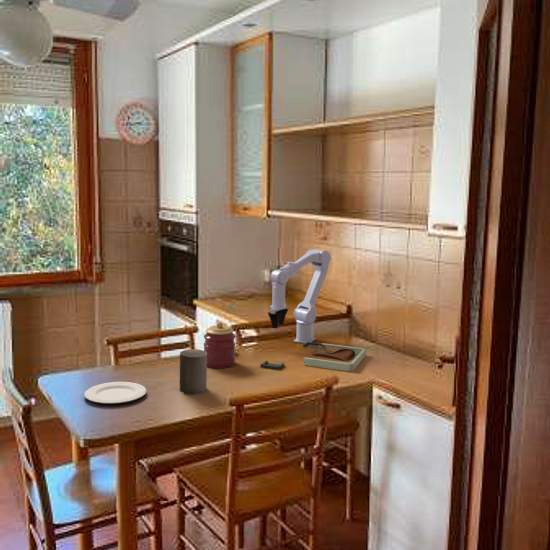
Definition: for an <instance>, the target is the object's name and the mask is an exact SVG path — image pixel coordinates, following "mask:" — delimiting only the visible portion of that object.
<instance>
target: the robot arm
mask: <svg viewBox="0 0 550 550" xmlns="http://www.w3.org/2000/svg"><path fill="white" fill-rule="evenodd" d="M331 260H332V257H331V253H330V251H328V250H327V249H326V250H322V249H318V248H317V249H316V248H310V249H309V250H307V251H306V253H305V254H304V255H302V256H301V257H299V259H297V260H296V261H294V262H293V261H287V263H286V264H285V265H283V266H281V267H279V269H274V270H272V272H271V274H270V276H269V279H270V281H271V285H272V286H271V287H272V295H271V297H272V299H271V301H272V303H271V305H269V308H270V311H268V312H267V314H268V317H269V319H270V323H271V327H272V329H278V328H279V325H283V326H284V323H285V319H286V317H287V314H288V312H289V308H287V303H286V283H288V281H289V279H290V278H291V277H293V276H294V275H296V274H297V273H299V269H300V268H303V267H304V266H306V265H308V264H311V265H312V266H313V268H314V269H315V270H314V273H313V276H312V278H311V281H310V284H309V286H308V289H307V291H306V294H305V296H304V299H303V301H301V302H300V303H298V305H297V307H296V308H294V311H293V317H294V319H295V322H296V334H295V335H296V337H295V339H294V340H293V342H294V343H302V344H305V343H306V342H312V343H313V341H315V340H316V337H314V334H315V333H314V330H315V329H314V328H315V326H314V322H315V321H316V318H317V312H318V309H317V307H316V302H317V300H318V297H319V294H320V293H321V289H322V287H323V284H324V282H325V280H326V276H327V274H328V271H329V266H330V263H331Z"/></svg>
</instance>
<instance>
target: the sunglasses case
mask: <svg viewBox="0 0 550 550" xmlns="http://www.w3.org/2000/svg"><path fill="white" fill-rule="evenodd" d="M314 355H316V356H315V357H321V356H322V357H321V358H326V359H331V360H336V361H340V362H349V361H350V360H353V359H354V358H355V357H356V355H355V353H354V351H353V350H351V349H343V348H338V347H332V346H326V345H322V343H320V344H318V346H317V347H316V349H314V350H313V352H312V353H311V356H314ZM353 357H354V358H353Z"/></svg>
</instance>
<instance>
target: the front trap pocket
mask: <svg viewBox="0 0 550 550" xmlns="http://www.w3.org/2000/svg"><path fill="white" fill-rule="evenodd" d="M283 366H284V367H285V362H282V363H280V364H278V363H271V362H269V361H268V360H264V361H263V362H262V363H261V364H260V368H261V367H264V368H263V369H268V368H271V369H270V370H275V369H278V370H277V371H280V370H282V368H284V367H283ZM279 369H280V370H279Z"/></svg>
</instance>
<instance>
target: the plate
mask: <svg viewBox="0 0 550 550" xmlns="http://www.w3.org/2000/svg"><path fill="white" fill-rule="evenodd" d="M146 394H147V388H146V387H145V386H144V385H142V384H139V383H136V382H131V381H130V382H129V381H110V382H105V383H99V384H96V385H93V386H91V387H89V388H87V390H86V391H84V397H85V399H86V400H88V401H90V402H92V403H96V404H103V405H121V403H122V404H127V403H130V402H134V401H136V400H139V399H141V398H143V397H144V396H145V395H146Z"/></svg>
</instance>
